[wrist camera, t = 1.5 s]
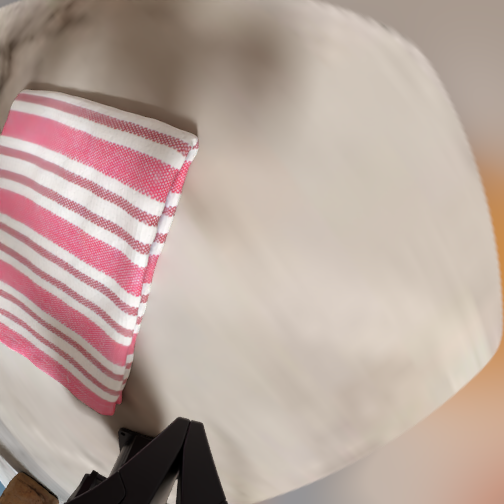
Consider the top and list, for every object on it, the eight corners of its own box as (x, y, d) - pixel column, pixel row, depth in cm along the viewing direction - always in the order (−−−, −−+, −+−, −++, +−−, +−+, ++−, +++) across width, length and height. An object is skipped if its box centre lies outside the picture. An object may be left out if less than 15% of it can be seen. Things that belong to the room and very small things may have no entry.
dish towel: (-4, 320, 21) (-24, 333, 17) (33, 88, 16) (7, 80, 12) (125, 404, 22) (111, 428, 18) (211, 135, 17) (200, 124, 14)
